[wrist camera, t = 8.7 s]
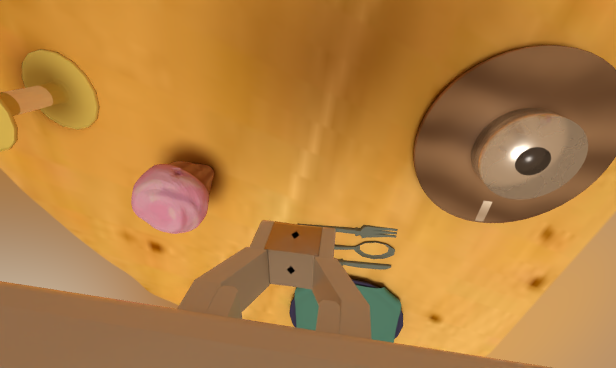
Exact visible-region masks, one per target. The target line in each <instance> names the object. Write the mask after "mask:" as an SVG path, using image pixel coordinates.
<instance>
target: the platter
mask: <svg viewBox="0 0 616 368" xmlns="http://www.w3.org/2000/svg"><path fill="white" fill-rule="evenodd" d="M523 108H541V109H545V110H548V111H551V112H553V113H556V114H558V115H560V116H562V117H565V118H567V119H569V120H571V121H573V122H575V123H576V124H578V125H579V126H580V127H581V128H582V129H583V130H584V132H585V134H586V136H587V140H588V152H587V156H586V159H585V161H584V163H583V165H582V166H581V168H580V169H579V171H578V172H577V173H576V174H575V175H574V176H573V178H571V179H570V180H569V181H568V182H567V183H565V184H564V185H563V186H561V187H560V188H558V189H556V190H554V191H552V192H550V193H548V194H545V195H543V196H540V197H536V198H531V199H522V200H516V199H508V198H504V197H501V196H499V195H497V194H495V193H494V192H492V191H491V190H490V189H489V188H488V187H487V186H486V185H485V183H484V182H483V181H482V180H481V179H480V177H479V176H478V175H477V174H476V172H475V171H474V169H473V167H472V163H471V151H472V147H473V145H474V142H475V140H476V139H477V137H478V135H479V134H480V133H481V132H482V130H483V129H484V128H485V127H486V126H487V125H488V124H490V123H491V122H492V121H493V120H495V119H497V118H498V117H500V116H502V115H504V114H506V113H508V112H511V111H514V110H517V109H523ZM615 157H616V70H615V68H614V67H613V66H612V65H610V64H609V63H608V62H606V61H605V60H604V59H602V58H601V57H599V56H597V55H595V54H593V53H591V52H588V51H584V50H581V49H578V48H572V47H565V46H556V45H538V46H531V47H523V48H519V49H515V50H511V51H507V52H505V53H502V54H499V55H497V56H494V57H491V58H489V59H487V60H485V61H483V62H481V63H479V64H477V65H476V66H474V67H473V68H471V69H470V70H468V71H466V72H465V73H463V74H462V75H461V76H460V77H458V78H457V79H456V80H455V81H453V82H452V83H451V84H450V85H449V86H448V87H447V88H446V89H445V90H444V91H443V92H442V93H441V94H440V95H439V96H438V98H437V99H436V100H435V101H434V103H433V104H432V105H431V107H430V108H429V110H428V111H427V113H426V115H425V117H424V119H423V121H422V123H421V125H420V127H419V130H418V133H417V136H416V140H415V145H414V166H415V171H416V174H417V177H418V180H419V182H420V184H421V187H422V189H423V190H424V192H425V193H426V195H427V196H428V197H429V198H430V199H431V200H432V202H433V203H435V204H436V205H437V206H438V207H440V208H441V209H442V210H444V211H446V212H447V213H449V214H451V215H454V216H456V217H459V218H462V219H465V220H469V221H475V222H483V223H504V222H513V221H518V220H523V219H527V218H530V217H534V216H537V215H540V214H542V213H545V212H548V211H550V210H552V209H554V208H556V207H558V206H561V205H562V204H564V203H566V202H568V201H569V200H571V199H573V198H574V197H576V196H577V195H578V194H580V193H581V192H583V191H584V190H585V189H587V188H588V187H589V186H590V185H591V184H592V183H593V182H595V181H596V180H597V179H598V178H599V177H600V176H601V175H602V173H603V172H604V171H605V170H606V169H607V168H608V166H609V165H610V164H611V163H612V161H613V160H614V158H615Z"/></svg>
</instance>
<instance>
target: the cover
mask: <svg viewBox="0 0 616 368" xmlns="http://www.w3.org/2000/svg"><path fill="white" fill-rule="evenodd" d="M587 152H588V140H587V136H586V134H585V132H584V130H583V129H582V128H581V127H580V126H579V125H578V124H576V123H575V122H573V121H571V120H569V119H567V118H565V117H562V116H560V115H558V114H556V113H553V112H551V111H548V110H545V109H541V108H523V109H517V110H514V111H511V112H508V113H506V114H504V115H502V116H500V117H498V118H497V119H495V120H493V121H492V122H491V123H490V124H488V125H487V126H486V127H485V128H484V129H483V130H482V132H481V133H480V134H479V135H478V137H477V139H476V140H475V142H474V145H473V147H472V151H471V163H472V167H473V169H474V171H475V172H476V174H477V175H478V176H479V177H480V179H481V180H482V181H483V182H484V183H485V185H486V186H487V187H488V188H489V189H490V190H491V191H492V192H494V193H495V194H497V195H499V196H501V197H504V198H508V199H516V200H522V199H531V198H536V197H540V196H543V195H545V194H548V193H550V192H552V191H554V190H556V189H558V188H560V187H561V186H563V185H564V184H565V183H567V182H568V181H569V180H570V179H571V178H573V176H574V175H575V174H576V173H577V172H578V171H579V169H580V168H581V166H582V165H583V163H584V161H585V159H586V156H587Z"/></svg>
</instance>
